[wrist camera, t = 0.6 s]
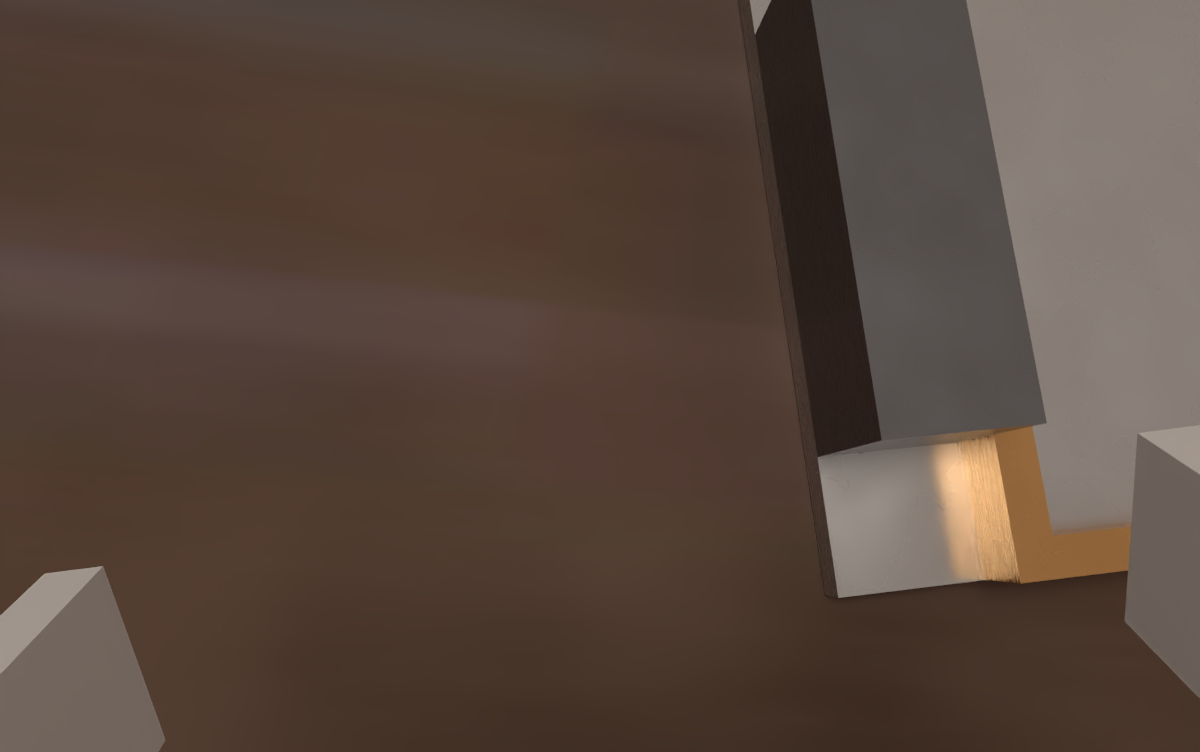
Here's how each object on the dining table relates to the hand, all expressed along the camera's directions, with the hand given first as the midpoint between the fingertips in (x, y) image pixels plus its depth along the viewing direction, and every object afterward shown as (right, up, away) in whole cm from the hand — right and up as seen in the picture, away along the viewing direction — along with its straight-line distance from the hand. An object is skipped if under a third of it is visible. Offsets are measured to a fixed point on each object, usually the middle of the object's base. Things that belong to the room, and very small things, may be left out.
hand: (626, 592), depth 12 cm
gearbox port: (+19, +8, +20) cm, 28 cm away
